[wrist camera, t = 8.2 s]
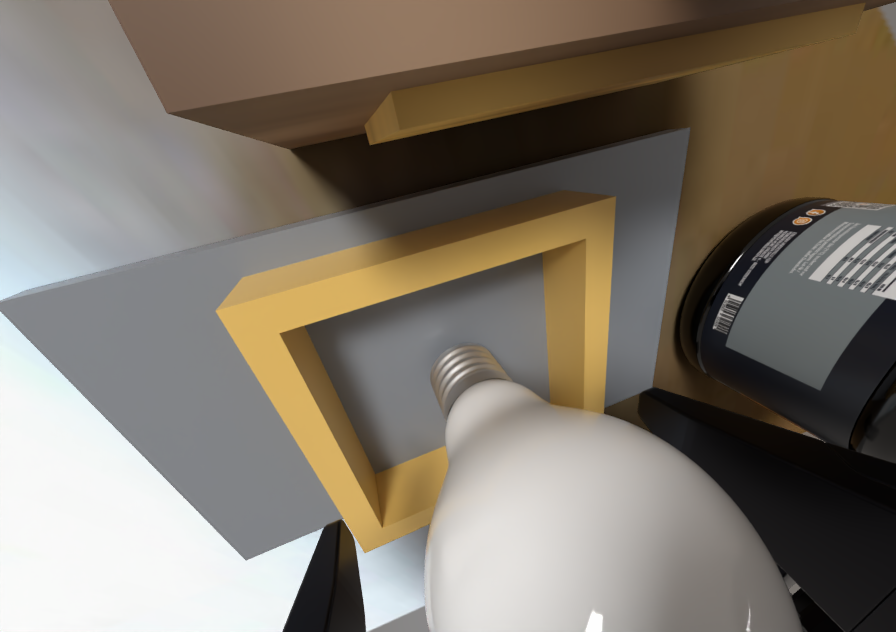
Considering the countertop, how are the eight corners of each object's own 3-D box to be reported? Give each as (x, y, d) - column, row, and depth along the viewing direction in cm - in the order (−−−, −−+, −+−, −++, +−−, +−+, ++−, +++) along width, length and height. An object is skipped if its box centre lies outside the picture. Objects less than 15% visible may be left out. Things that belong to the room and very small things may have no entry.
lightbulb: (511, 413, 16) (781, 805, 6) (378, 433, 14) (472, 1053, 4) (539, 290, 13) (1081, 636, 4) (380, 292, 11) (638, 1084, 2)
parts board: (666, 129, 13) (767, 119, 10) (637, 377, 19) (694, 417, 16) (25, 290, 9) (-132, 355, 6) (251, 537, 15) (230, 631, 12)
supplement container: (751, 364, 23) (1102, 534, 12) (640, 370, 19) (1004, 617, 9) (845, 208, 19) (1484, 265, 8) (727, 178, 15) (1594, 213, 5)
